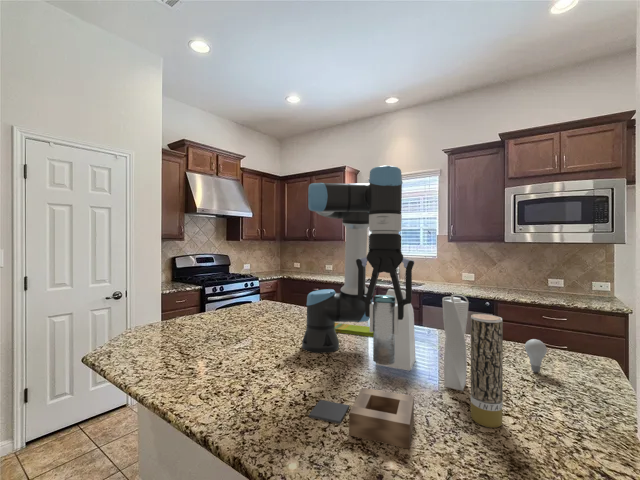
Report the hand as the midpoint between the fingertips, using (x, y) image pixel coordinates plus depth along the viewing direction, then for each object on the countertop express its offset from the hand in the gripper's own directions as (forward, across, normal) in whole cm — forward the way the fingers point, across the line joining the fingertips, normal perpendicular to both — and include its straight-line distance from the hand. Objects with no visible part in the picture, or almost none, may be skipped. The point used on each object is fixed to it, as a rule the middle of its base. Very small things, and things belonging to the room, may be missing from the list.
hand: (384, 331), depth 74 cm
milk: (+22, -2, +42) cm, 47 cm away
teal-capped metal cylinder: (+7, 0, 0) cm, 7 cm away
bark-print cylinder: (+22, +23, +11) cm, 34 cm away
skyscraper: (+22, +17, +29) cm, 40 cm away
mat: (+22, -14, +1) cm, 26 cm away
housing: (+22, 0, 0) cm, 22 cm away
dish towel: (+23, -26, +77) cm, 85 cm away
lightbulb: (+22, +43, +50) cm, 69 cm away
